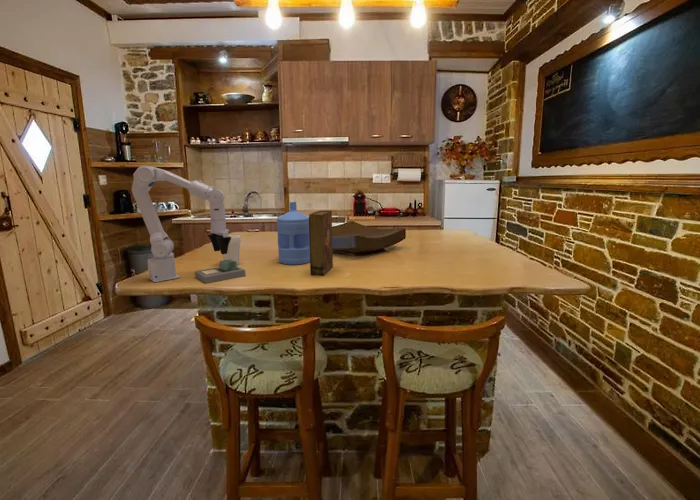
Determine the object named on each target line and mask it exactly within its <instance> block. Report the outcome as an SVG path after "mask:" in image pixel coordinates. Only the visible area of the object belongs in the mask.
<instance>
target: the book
mask: <svg viewBox="0 0 700 500" xmlns="http://www.w3.org/2000/svg"><path fill="white" fill-rule="evenodd" d="M332 215H333V213H332V210H318V211H315V212H312V213H309V214H308V217H309V241H310V262H309V266H310V268H309V270H310V275H312V276H313V275H320V276H325V275H326V274H327V273H328V272H329V271H330V270H331V269H332V268H333V267H334V263H333V216H332Z"/></svg>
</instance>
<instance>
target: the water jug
mask: <svg viewBox="0 0 700 500" xmlns="http://www.w3.org/2000/svg"><path fill="white" fill-rule="evenodd" d="M276 229H277V246H278V249H277V250H278V262H279V263H280V264H283V265H288V266H289V265H290V266H293V265H295V266H296V265H305V264H308V263H310V241H309V215H306V214H304V213H303V212H299V211H298V210H297V201H290V202H289V211H287V212H286V213H284V214H282V215H281V216H278V217H277V218H276Z"/></svg>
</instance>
